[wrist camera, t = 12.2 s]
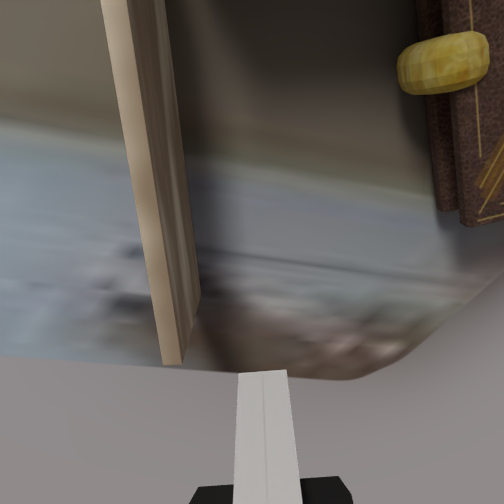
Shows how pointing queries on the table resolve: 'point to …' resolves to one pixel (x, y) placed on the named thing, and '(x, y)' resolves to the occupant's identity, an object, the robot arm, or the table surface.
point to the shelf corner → (156, 164)
